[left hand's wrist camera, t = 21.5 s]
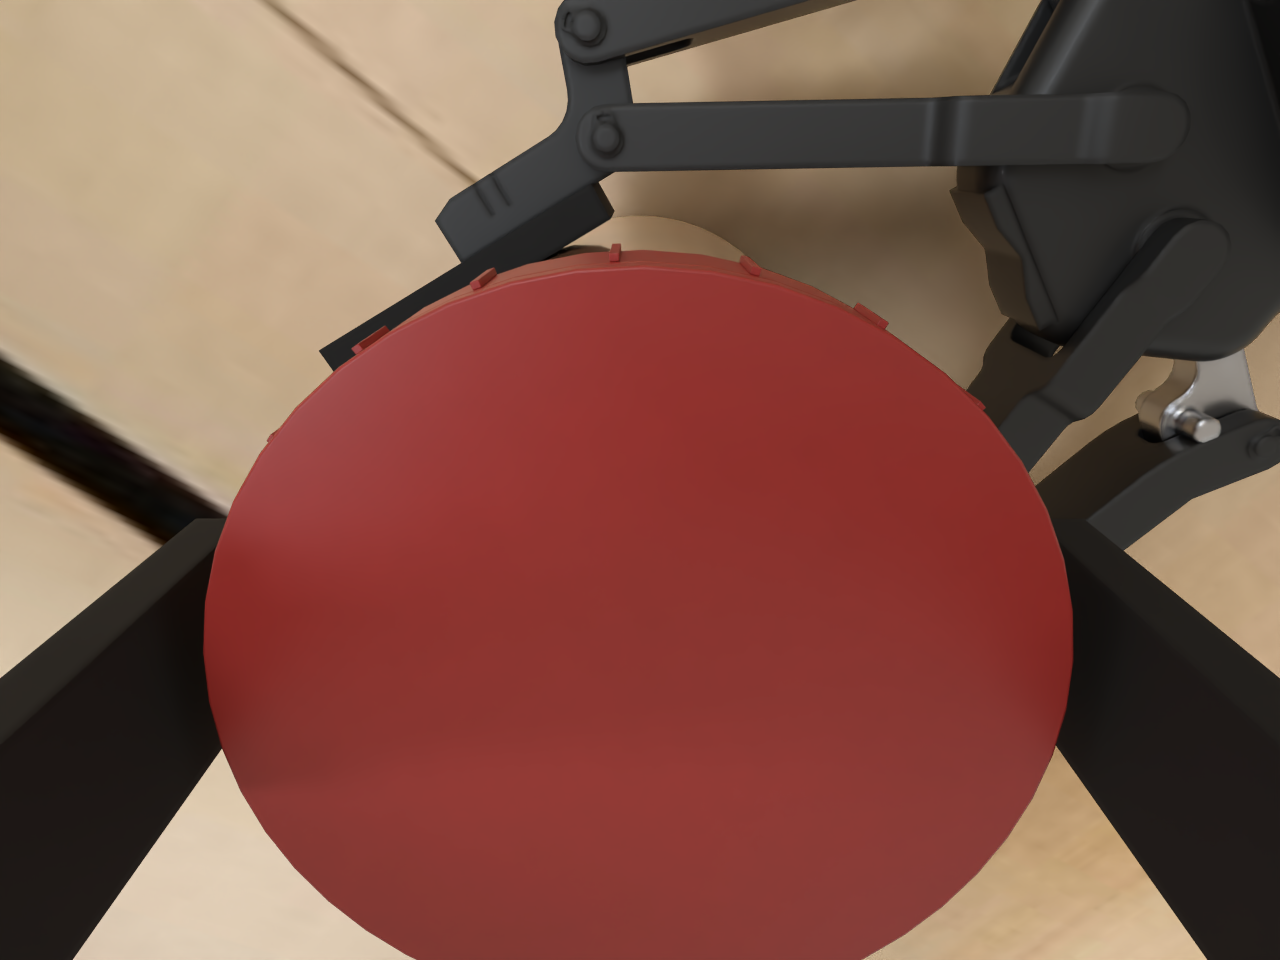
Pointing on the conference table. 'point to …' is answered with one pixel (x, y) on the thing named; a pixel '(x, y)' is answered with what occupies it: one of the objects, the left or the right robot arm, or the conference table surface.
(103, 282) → the conference table surface
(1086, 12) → the right robot arm
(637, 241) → the jar
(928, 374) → the lid
